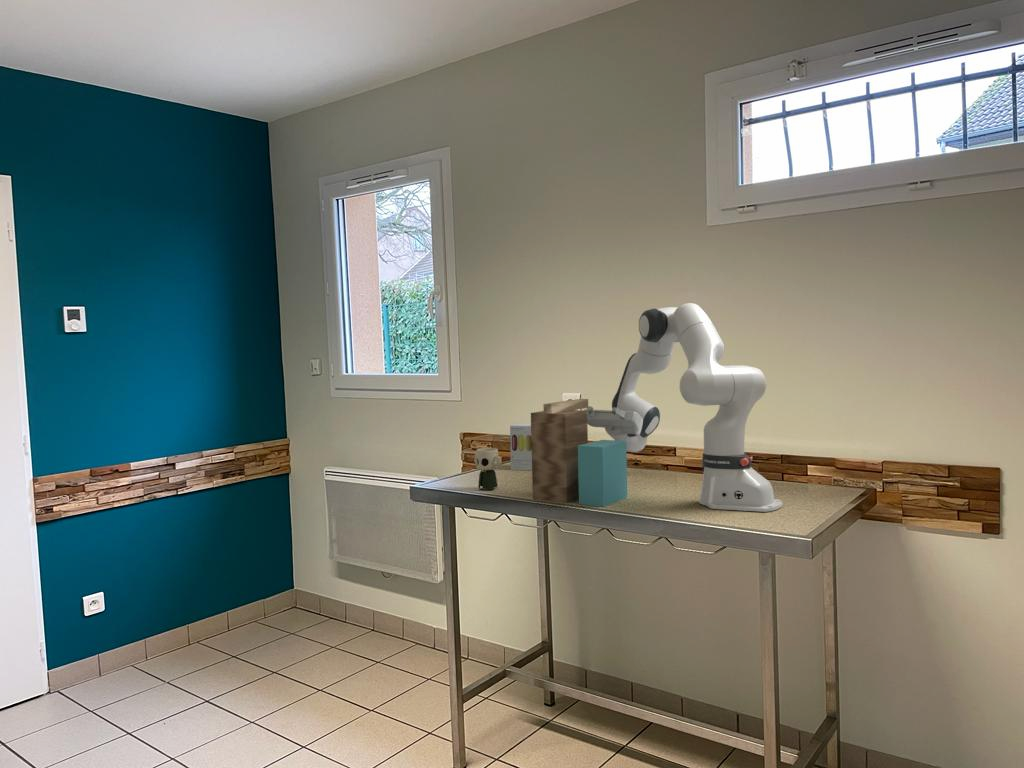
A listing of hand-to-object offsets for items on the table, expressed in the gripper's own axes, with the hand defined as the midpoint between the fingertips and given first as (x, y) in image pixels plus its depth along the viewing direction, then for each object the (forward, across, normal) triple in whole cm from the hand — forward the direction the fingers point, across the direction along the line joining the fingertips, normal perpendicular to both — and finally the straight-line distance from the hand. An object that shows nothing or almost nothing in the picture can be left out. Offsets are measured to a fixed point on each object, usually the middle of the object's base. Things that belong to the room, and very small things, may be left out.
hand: (601, 408), depth 252 cm
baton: (+17, -2, +8) cm, 19 cm away
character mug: (+8, -29, +34) cm, 45 cm away
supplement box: (-28, -42, +14) cm, 53 cm away
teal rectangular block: (+7, +13, +33) cm, 36 cm away
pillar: (+8, -1, +33) cm, 34 cm away
